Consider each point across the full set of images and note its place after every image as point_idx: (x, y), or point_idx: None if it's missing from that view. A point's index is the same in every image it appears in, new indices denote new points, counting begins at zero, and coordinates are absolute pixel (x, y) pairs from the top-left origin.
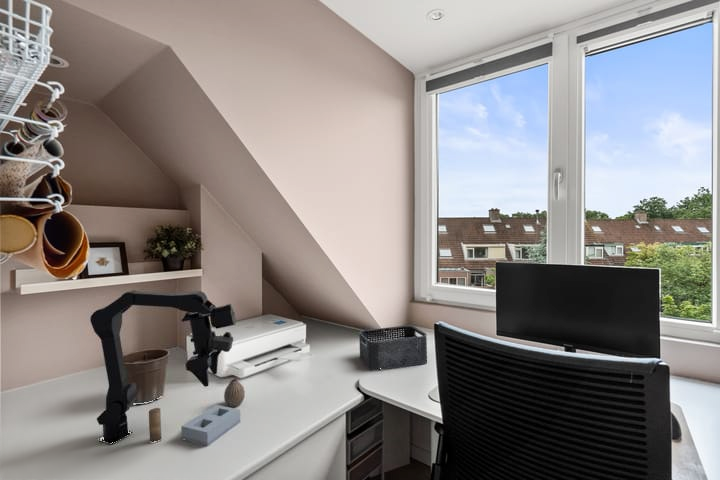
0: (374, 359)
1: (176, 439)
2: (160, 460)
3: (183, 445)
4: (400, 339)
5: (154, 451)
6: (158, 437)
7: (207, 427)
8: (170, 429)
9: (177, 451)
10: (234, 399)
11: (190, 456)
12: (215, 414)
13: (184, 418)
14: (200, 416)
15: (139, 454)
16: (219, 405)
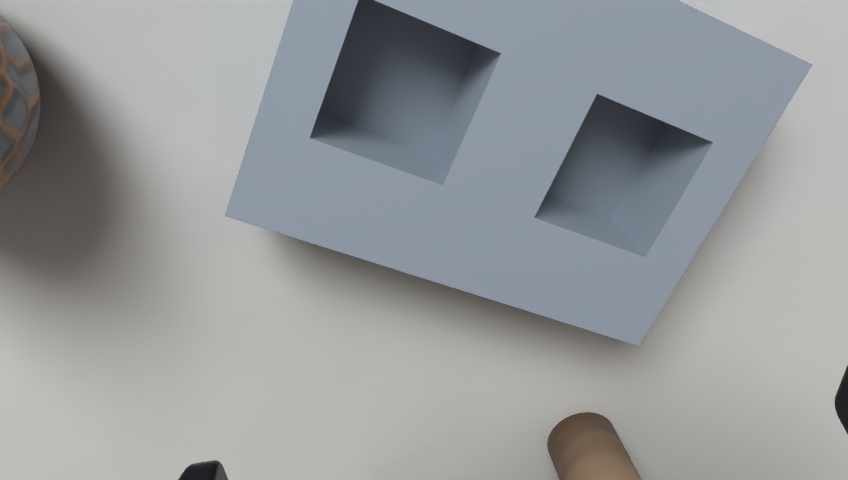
0: None
1: None
2: (825, 297)
3: None
4: None
5: (711, 381)
6: (612, 434)
7: (717, 103)
8: (449, 422)
9: (749, 243)
10: (7, 51)
11: (841, 122)
12: (374, 148)
13: (287, 408)
14: (483, 263)
15: (723, 442)
16: (240, 167)
